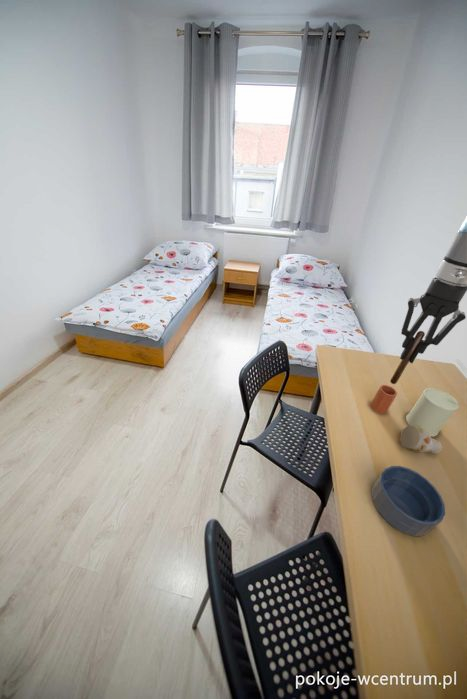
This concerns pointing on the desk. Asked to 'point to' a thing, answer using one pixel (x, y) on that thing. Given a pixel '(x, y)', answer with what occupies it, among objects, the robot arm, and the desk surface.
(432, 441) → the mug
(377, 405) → the holder
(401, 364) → the stick
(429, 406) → the can
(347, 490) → the desk surface
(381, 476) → the bowl
